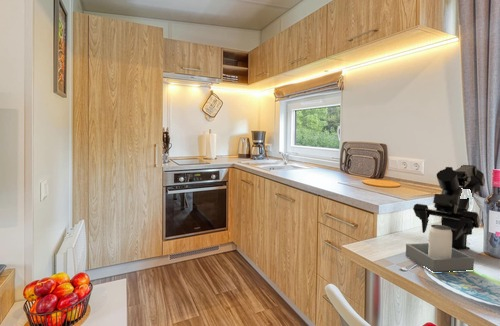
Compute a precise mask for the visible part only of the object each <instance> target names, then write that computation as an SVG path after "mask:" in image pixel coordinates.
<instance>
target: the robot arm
mask: <svg viewBox="0 0 500 326" xmlns="http://www.w3.org/2000/svg"><path fill="white" fill-rule="evenodd" d="M436 179H437V182H438V184H439V187H440V189H442V190H441V193H434V195H433V201H432V203H433V204H434V209H431V208H429V207H428V204H421V203H416V204H414V206H412V207H413V208H412V209H413V212H414V214H415V217H417V218H418V219H419V220H421V228H422V229H421V230H422V233H424V234H425V232H426V231H427V229H428V225H429V221H430V220H429V217H430V216H435V217H441V220H440V221H441V225H444V226H448V227H450V228H451V231H452V248H454V249H456V250H458V251H460V250H470V247H468V246H467V242H468V241H467V240H468V239H467V238H468V237H467V236H469V235H470V236H471V235H472V234H473V229H474V228H475V229H479V228H480V223H481V220H480V215H479V213H478V212H476V211H469V209H470V206H469V198H467V199H460V196H461V193H462V189H461V188H463V189H470V190H471V193H472V197H474V196H475V194H476V193H478V192H480V191H481V190H482V188H483V187H485V183H486V182H485V181H486V178H485V174H484V172H482V171H481V170H480V169H478V167H477V166H476V165H473V164H463V165H461V166H460V167H458V168H457V169H455V170H454V169H453V167H451V166H445V168H444V169H441V170H439V171H438V172H437V173H436Z"/></svg>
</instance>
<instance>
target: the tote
mask: <svg viewBox="0 0 500 326" xmlns="http://www.w3.org/2000/svg"><path fill="white" fill-rule="evenodd" d="M428 248H429V242H425V243H424V242H423V243H422V242H419V243H406V244H405V257H406V258H408V259H410V260H411V261H412V262H414V263H416V264H418V265H419V266H421V267H422V268H424V267H423V266H425V267H427V268H428V269H430V270H431V271H433V272H449V271H450V272H453V271H466V270H473V271H474V269H475V268H474V264H475V257H473V256H471V255H468V254H466V253H464V252H463V251H460V250H456V249H454V248H452V254H451V258H439V259H434V258H432V257H430V256H429V255H428Z"/></svg>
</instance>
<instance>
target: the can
mask: <svg viewBox="0 0 500 326" xmlns="http://www.w3.org/2000/svg"><path fill="white" fill-rule="evenodd" d="M428 232H429V233H428V243H429V248H428V255H429V256H430V257H432V258H434V259H439V258H451V254H452V231H451V228H450V227H448V226H444V225H442V224H431V225H430V228H429V231H428Z"/></svg>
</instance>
